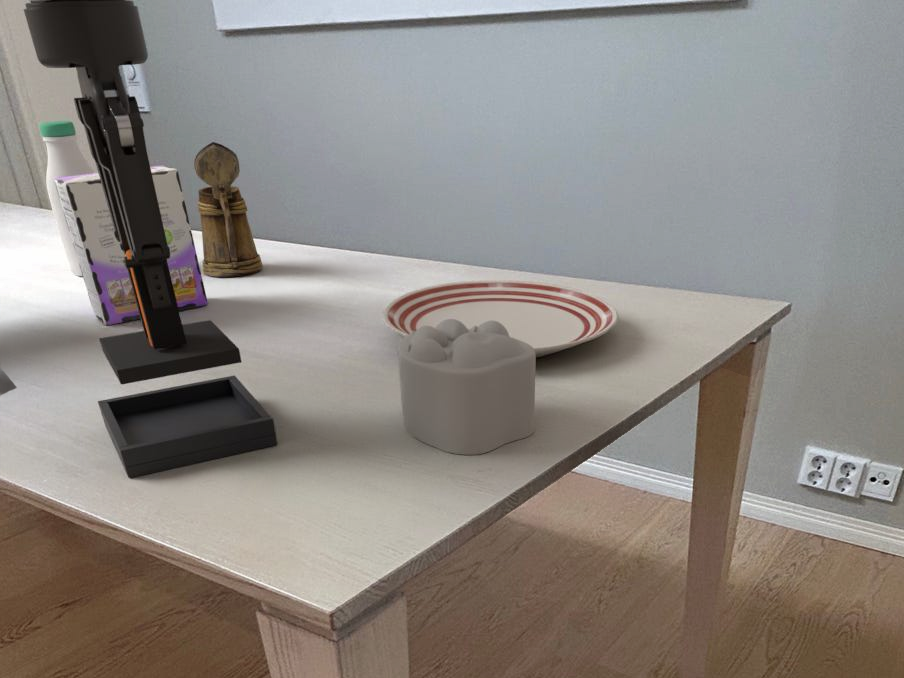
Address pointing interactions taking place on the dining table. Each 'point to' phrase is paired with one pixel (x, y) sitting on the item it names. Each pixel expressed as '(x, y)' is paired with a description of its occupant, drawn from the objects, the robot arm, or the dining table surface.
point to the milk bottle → (63, 175)
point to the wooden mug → (224, 216)
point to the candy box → (105, 255)
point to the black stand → (168, 351)
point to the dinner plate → (508, 311)
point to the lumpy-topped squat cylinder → (466, 386)
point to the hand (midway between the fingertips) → (165, 339)
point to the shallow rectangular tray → (186, 425)
